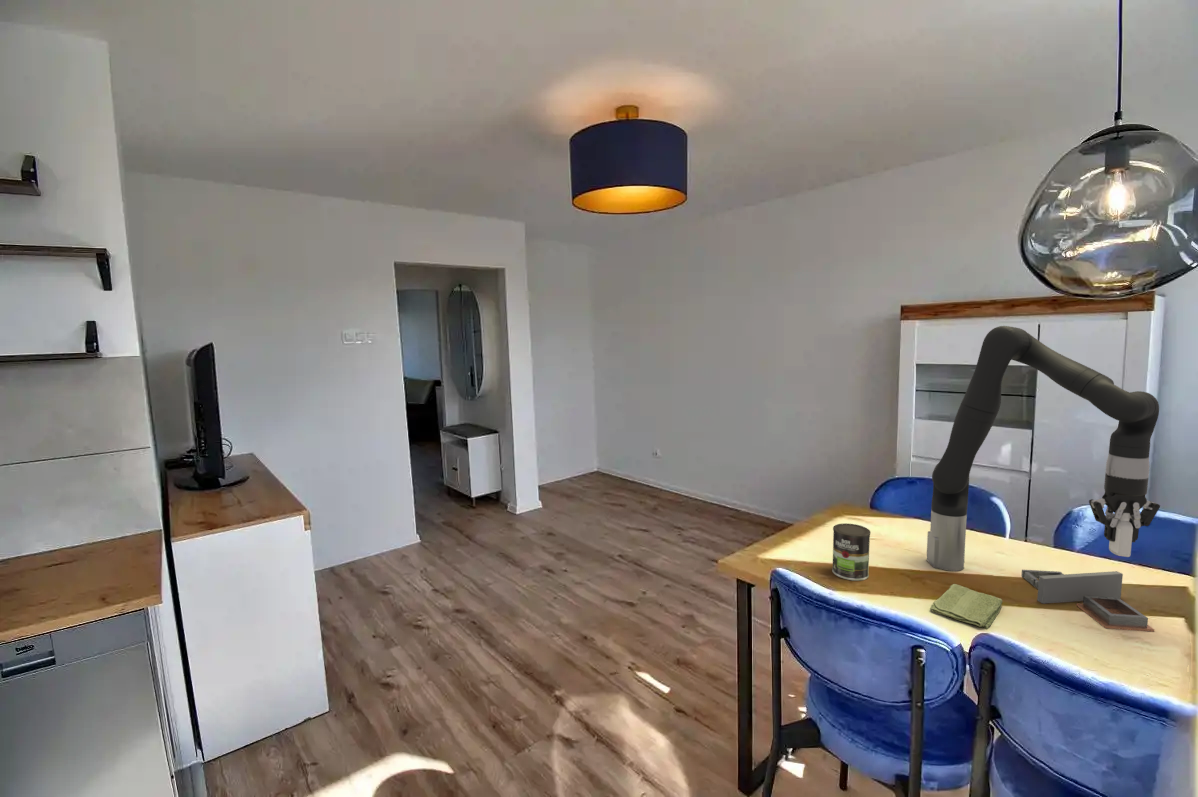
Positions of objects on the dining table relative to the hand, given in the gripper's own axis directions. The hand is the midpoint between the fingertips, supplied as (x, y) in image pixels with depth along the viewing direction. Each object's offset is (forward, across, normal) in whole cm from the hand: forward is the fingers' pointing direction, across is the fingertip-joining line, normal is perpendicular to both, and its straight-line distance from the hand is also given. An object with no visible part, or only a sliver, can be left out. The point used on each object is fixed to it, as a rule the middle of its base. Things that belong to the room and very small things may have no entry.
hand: (1120, 540), depth 133 cm
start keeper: (+20, +5, -18) cm, 28 cm away
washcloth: (+21, +33, +1) cm, 39 cm away
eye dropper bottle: (+3, 0, 0) cm, 3 cm away
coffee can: (+21, +58, -17) cm, 64 cm away
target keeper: (+20, 0, 0) cm, 20 cm away
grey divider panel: (+20, +2, -9) cm, 22 cm away
